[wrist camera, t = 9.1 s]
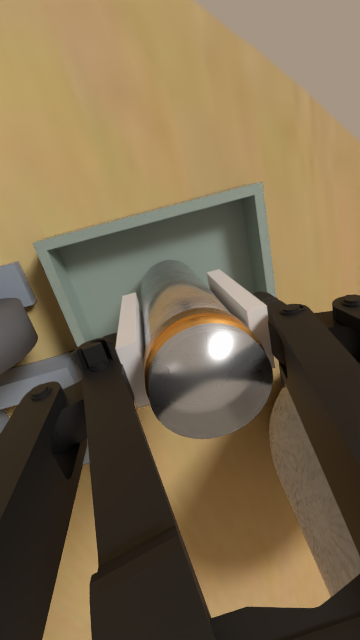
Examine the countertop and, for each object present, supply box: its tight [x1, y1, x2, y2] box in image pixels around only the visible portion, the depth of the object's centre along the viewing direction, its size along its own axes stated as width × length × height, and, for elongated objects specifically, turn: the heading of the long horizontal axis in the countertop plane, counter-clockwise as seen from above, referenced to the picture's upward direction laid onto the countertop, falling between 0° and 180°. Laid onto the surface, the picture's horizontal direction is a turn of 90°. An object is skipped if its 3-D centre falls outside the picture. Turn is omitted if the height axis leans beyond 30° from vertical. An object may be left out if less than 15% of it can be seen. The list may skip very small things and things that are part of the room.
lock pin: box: [141, 260, 273, 439], centre depth 15 cm, size 4×4×12 cm
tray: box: [33, 182, 276, 347], centre depth 21 cm, size 14×10×3 cm
